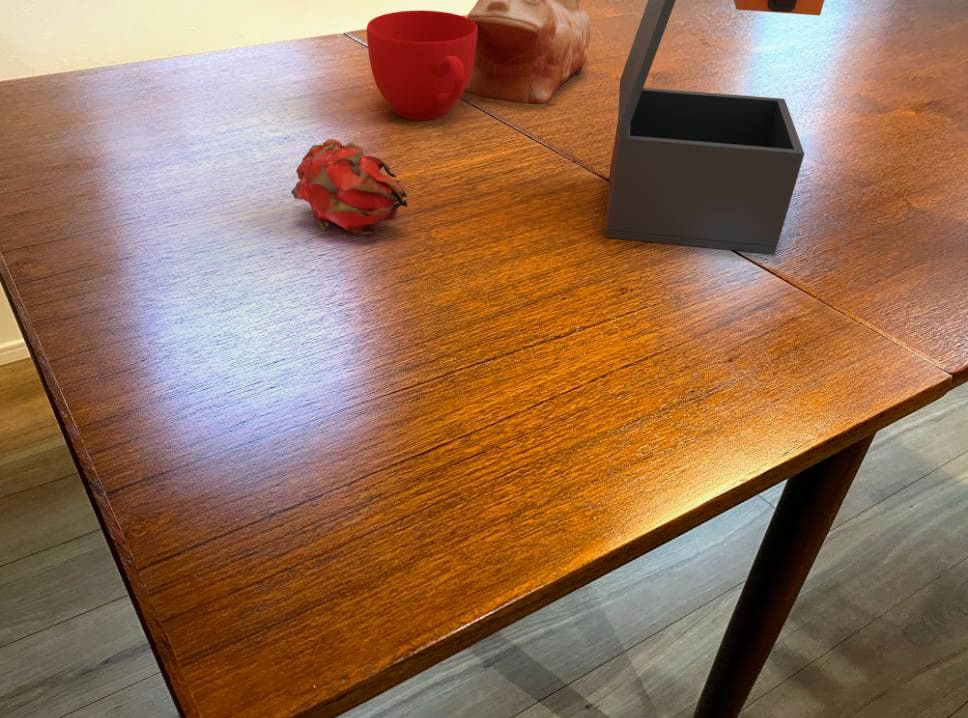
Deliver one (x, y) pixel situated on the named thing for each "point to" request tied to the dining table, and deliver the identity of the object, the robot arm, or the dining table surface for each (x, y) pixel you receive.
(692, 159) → the storage bin
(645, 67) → the box lid
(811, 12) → the packet
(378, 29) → the ceramic cup
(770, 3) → the robot arm
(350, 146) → the dragon fruit
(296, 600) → the dining table surface
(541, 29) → the ceramic vessel
